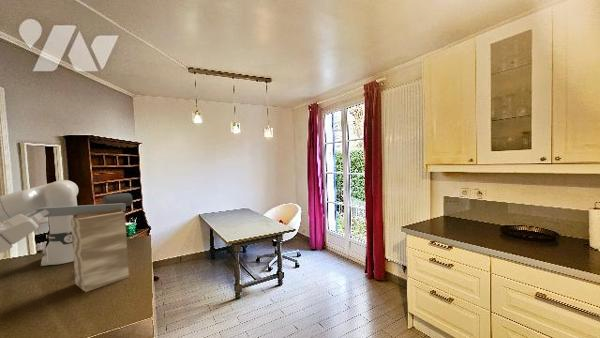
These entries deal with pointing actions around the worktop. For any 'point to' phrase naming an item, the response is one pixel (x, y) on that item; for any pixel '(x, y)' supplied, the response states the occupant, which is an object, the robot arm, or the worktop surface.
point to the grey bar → (80, 209)
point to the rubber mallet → (118, 199)
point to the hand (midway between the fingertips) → (45, 210)
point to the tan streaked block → (99, 248)
